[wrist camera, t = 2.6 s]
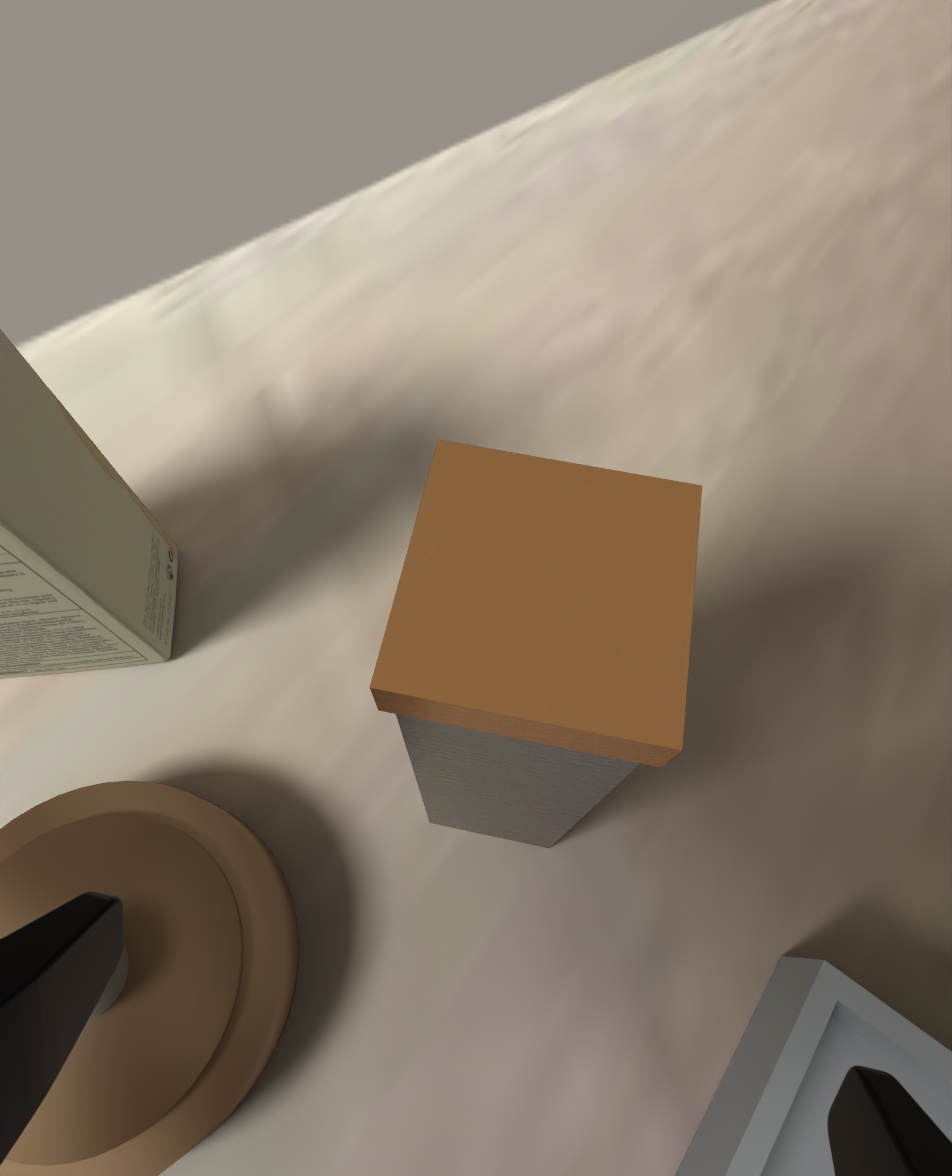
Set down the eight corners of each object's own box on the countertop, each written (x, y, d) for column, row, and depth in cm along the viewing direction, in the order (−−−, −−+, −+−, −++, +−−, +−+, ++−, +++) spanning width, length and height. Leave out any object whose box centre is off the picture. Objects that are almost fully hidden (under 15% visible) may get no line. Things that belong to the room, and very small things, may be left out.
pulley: (110, 1284, 16) (23, 1371, 13) (-129, 1011, 18) (-252, 1028, 15) (367, 928, 19) (348, 928, 16) (138, 732, 21) (83, 699, 18)
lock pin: (554, 854, 20) (682, 750, 8) (423, 826, 20) (369, 687, 9) (572, 725, 22) (701, 485, 10) (451, 701, 22) (438, 439, 10)
